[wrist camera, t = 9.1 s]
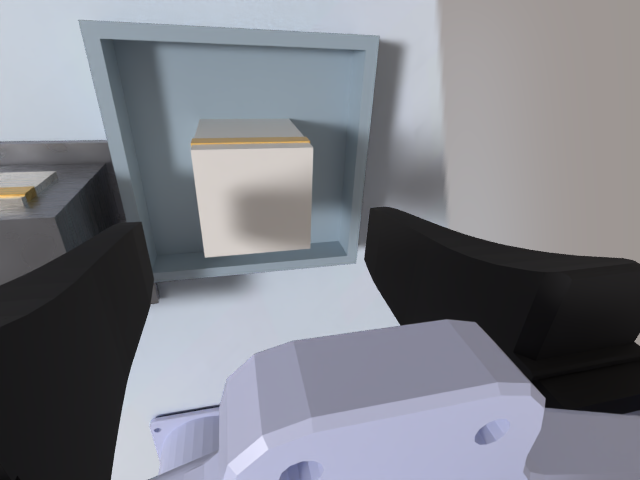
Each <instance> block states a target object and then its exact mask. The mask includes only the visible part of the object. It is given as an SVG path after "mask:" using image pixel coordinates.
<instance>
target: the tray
mask: <svg viewBox="0 0 640 480" xmlns="http://www.w3.org/2000/svg"><path fill="white" fill-rule="evenodd" d="M78 21H79V25H80V29H81V33H82V38H83V42H84V46H85V50H86V54H87V58H88V63H89V67H90V71H91V75H92V79H93V83H94V88H95V92H96V96H97V100H98V104H99V108H100V113H101V117H102V121H103V125H104V129H105V133H106V138H107V142H108V146H109V150H110V154H111V158H112V163H113V167H114V171H115V175H116V179H117V183H118V188H119V192H120V196H121V200H122V204H123V208H124V213H125V217H126V221H127V222H142V225H143V230H144V235H145V239H146V244H147V248H148V253H149V258H150V262H151V267H152V271H153V276H154V283H155V282H166V281H176V280H187V279H197V278H208V277H218V276H229V275H239V274H250V273H260V272H271V271H282V270H292V269H303V268H313V267H324V266H334V265H345V264H355V263H356V259H357V249H358V240H359V230H360V220H361V211H362V201H363V192H364V182H365V172H366V163H367V153H368V144H369V134H370V124H371V115H372V105H373V95H374V86H375V76H376V67H377V57H378V47H379V38H380V36H375V35H357V34H338V33H319V32H300V31H281V30H263V29H244V28H225V27H206V26H187V25H169V24H150V23H131V22H112V21H93V20H78ZM199 119H290V120H291V122H292V123H293V124H294V125H295V126H296V128H297V129H298V130H299V131H300V132H301V133H302V135H303V136H304V137H307V138H308V139H309V140H310V144H311V145H312V147H313V175H312V209H311V243H310V249H300V250H288V251H276V252H265V253H253V254H241V255H229V256H217V257H206V258H205V254H204V247H203V239H202V232H201V225H200V217H199V210H198V202H197V195H196V187H195V180H194V172H193V165H192V158H191V140H192V138H194V136H195V133H196V130H197V126H198V123H199Z"/></svg>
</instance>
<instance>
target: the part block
mask: <svg viewBox="0 0 640 480" xmlns="http://www.w3.org/2000/svg"><path fill="white" fill-rule="evenodd" d="M191 158H192V165H193V172H194V180H195V187H196V195H197V202H198V210H199V217H200V225H201V232H202V239H203V247H204V254H205V258H206V257H217V256H229V255H241V254H253V253H265V252H276V251H288V250H300V249H310V243H311V209H312V175H313V147H312V145H311V144H310V140H309V139H308V138H307V137H304V136H303V135H302V133H301V132H300V131H299V130H298V129H297V128H296V126H295V125H294V124H293V123H292V122H291V120H290V119H199V123H198V126H197V130H196V133H195V136H194V138H192V140H191Z"/></svg>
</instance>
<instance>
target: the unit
mask: <svg viewBox="0 0 640 480" xmlns="http://www.w3.org/2000/svg"><path fill="white" fill-rule="evenodd" d="M125 222H127V221H126V217H125V213H124V208H123V204H122V200H121V196H120V192H119V188H118V183H117V179H116V175H115V171H114V167H113V163H112V158H111V154H110V150H109V146H108V142H107V140H95V141H19V142H0V285H2V284H5V283H7V282H9V281H11V280H14V279H16V278H18V277H20V276H23V275H25V274H27V273H29V272H31V271H33V270H35V269H37V268H39V267H41V266H43V265H45V264H47V263H48V262H50V261H52V260H54V259H56V258H58V257H59V256H61V255H63V254H65V253H67V252H69V251H70V250H72V249H74V248H75V247H77V246H79V245H80V244H82V243H84V242H85V241H87V240H89V239H90V238H92V237H94V236H95V235H97V234H99V233H100V232H102V231H104V230H106V229H107V228H109V227H111V226H113V225H115V224H118V223H125ZM159 299H160V297H159V293H158V288H157V283H156V282H155V283H154V284H153V291H152V298H151V304H155V303H159Z"/></svg>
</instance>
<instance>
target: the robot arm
mask: <svg viewBox="0 0 640 480" xmlns="http://www.w3.org/2000/svg"><path fill="white" fill-rule="evenodd" d="M364 260H365V262H366V265H367V267H368V270H369V272H370V275H371V277H372V279H373V282H374V283H375V285H376V287H377V288H378V290H379V292H380V293H381V295H382V297H383V298H384V300H385V301H386V303H387V305H388V306H389V308H390V309H391V311H392V313H393V314H394V316H395V317H396V319H397V321H398V322H399V324H400V325H401V326H395V327H388V328H381V329H374V330H366V331H359V332H352V333H345V334H338V335H331V336H324V337H316V338H309V339H302V340H295V341H291V342H288V343H285V344H282V345H279V346H276V347H273V348H270V349H267V350H264V351H261V352H258V353H256V354H254V355H252V356H251V357H250V358H249V359H248V360H247V361H246V362H245V363H244V364H243V365H241V366H240V367H239V368H238V369H237V370H236V371H235V372H234V373H233V374H232V375H230V376H229V377H228V378H227V379H226V383H225V387H224V391H223V395H222V398H221V402H220V406H219V407H216V408H210V409H205V410H199V411H193V412H187V413H181V414H176V415H170V416H164V417H158V418H154V419H152V420H151V421H150V430H151V433H152V437H153V440H154V444H155V447H156V450H157V454H158V457H159V461H160V467H159V474H158V476H156V477H153V478H151V479H148V480H640V346H639V345H638V344H636V343H635V342H634V341H635V340H636V338H637V336H638V335H639V333H640V264H639V263H637V262H636V261H633V260H629V259H624V258H608V257H591V256H575V255H566V254H557V253H549V252H541V251H535V250H529V249H523V248H517V247H513V246H507V245H503V244H498V243H494V242H490V241H486V240H483V239H479V238H475V237H472V236H468V235H465V234H462V233H459V232H456V231H453V230H450V229H448V228H445V227H442V226H439V225H437V224H434V223H432V222H429V221H426V220H424V219H421V218H419V217H416V216H414V215H411V214H409V213H406V212H403V211H401V210H398V209H394V208H390V207H376V208H370V214H369V223H368V232H367V240H366V249H365V258H364ZM153 284H154V276H153V271H152V267H151V262H150V258H149V253H148V248H147V244H146V239H145V235H144V230H143V225H142V222H125V223H118V224H115V225H113V226H111V227H109V228H107V229H106V230H104V231H102V232H100V233H99V234H97V235H95V236H94V237H92V238H90V239H89V240H87V241H85V242H84V243H82V244H80V245H79V246H77V247H75V248H74V249H72V250H70V251H69V252H67V253H65V254H63V255H61V256H59V257H58V258H56V259H54V260H52V261H50V262H48V263H47V264H45V265H43V266H41V267H39V268H37V269H35V270H33V271H31V272H29V273H27V274H25V275H23V276H20V277H18V278H16V279H14V280H11V281H9V282H7V283H5V284H2V285H0V480H111V474H112V467H113V460H114V453H115V447H116V441H117V435H118V429H119V423H120V417H121V411H122V406H123V401H124V395H125V390H126V385H127V380H128V376H129V373H130V369H131V365H132V362H133V359H134V356H135V353H136V350H137V347H138V344H139V340H140V337H141V334H142V331H143V328H144V325H145V322H146V318H147V315H148V312H149V308H150V304H151V298H152V291H153Z"/></svg>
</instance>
